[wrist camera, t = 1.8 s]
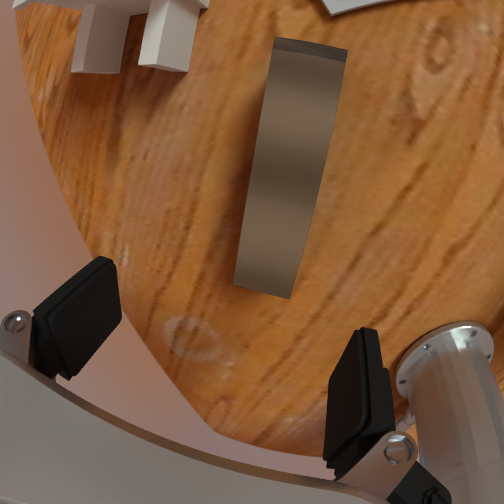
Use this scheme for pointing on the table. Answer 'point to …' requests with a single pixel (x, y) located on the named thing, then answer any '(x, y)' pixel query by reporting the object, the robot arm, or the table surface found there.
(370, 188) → the table surface
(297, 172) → the rail
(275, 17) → the table surface
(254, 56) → the table surface
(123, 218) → the table surface
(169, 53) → the white forked bracket
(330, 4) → the baseboard molding
